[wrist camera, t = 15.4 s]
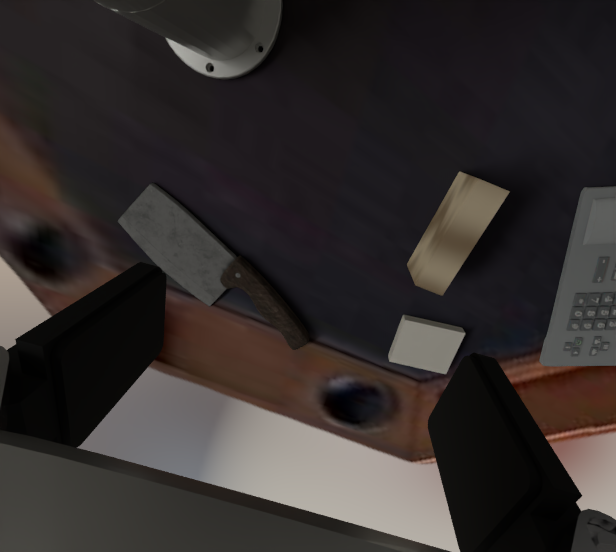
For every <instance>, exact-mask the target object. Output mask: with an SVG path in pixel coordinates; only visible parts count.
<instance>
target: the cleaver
mask: <svg viewBox="0 0 616 552" xmlns="http://www.w3.org/2000/svg"><path fill="white" fill-rule="evenodd" d="M118 222H119V223H120V224H121V226H122V227H123V228H124V229H125V230H126V231H127V233H128V234H129V235H130V236H131V237H132V238H133V239H134V241H135V242H136V243H137V244H138V245H139V246H140V247H141V248H142V249H143V251H144V252H145V253H146V254H147V255H148V256H149V257H150V258H151V259H152V260H153V261H154V262H155V263H156V264H157V265H158V266H159V267H160V268H161V269H162V270H163V271H164V272H165V273H167V274H168V275H169V276H170V277H171V278H172V279H174V280H175V281H176V282H177V283H179V284H180V285H181V286H182V287H184V288H185V289H186V290H188V291H189V292H190V293H192V294H193V295H194V296H196V297H197V298H198V299H200V300H201V301H202V302H204V303H205V304H207V305H208V306H209V307H210V306H211V305H212V304H213V303H214V302H215V301H216V300H217V298H218V297H219V296H220V295H221V294H222V293H223V292H224V291H225V290H226V289H230V288H234V287H239V288H241V289H243V290H244V291H245V292H246V293H247V294H248V295H249V296H250V297H251V299H252V300H253V302H254V304H255V306H256V308H257V310H258V311H259V312H260V314H261V315H262V316H263V317H264V318H265V319H266V320H267V321H269V322H270V323H271V324H273V325H274V326H275V327H276V328H277V329H278V330H279V331H280V332H281V333H282V334H283V336H284V338H285V339H286V341H287V343H288V344H289V346H290V347H291V348H292V349H293V350H295V349H298V348H300V347H302V346H304V345H305V344H307V343H308V342H309V337H310V336H309V333H308V331H307V330H306V328H305V327H304V325H303V324H302V323H301V321H300V320H299V318H298V317H297V316H296V315H295V313H294V312H293V311H292V310H291V308H290V307H289V306H288V305H287V304H286V302H285V301H284V300H283V299H282V298H281V296H280V295H279V294H278V293H277V292H276V291H275V289H274V288H273V287H272V286H271V285H270V284H269V283H268V282H267V281H266V279H265V278H264V277H263V276H262V275H261V274H260V273H259V272H258V271H257V270H256V269H255V268H254V267H253V266H252V265H251V264H250V263H248V262H247V261H246V260H245V259H244V258H243V257H242V256H238V257H237V256H236V255H235V254H234V253H233V252H232V251H231V250H230V249H229V248H227V247H226V246H225V245H224V244H223V243H222V242H221V241H220V240H219V239H218V238H217V237H216V236H215V235H214V234H213V233H212V232H211V231H210V230H208V229H207V228H206V227H205V226H204V225H203V224H202V223H201V222H200V221H199V220H198V219H197V218H196V217H195V216H194V215H193V214H191V213H190V212H189V211H188V210H187V209H186V208H185V207H184V206H182V205H181V204H180V203H179V202H178V201H177V200H175V199H174V198H173V197H171V196H170V195H169V194H168V193H166V192H165V191H164V190H162V189H161V188H160V187H158V186H157V185H156V184H154V183H151V184H150V185H149V186H148V187H147V188H146V189H145V190H144V191H143V193H142V194H141V195H140V196H139V197H138V198H137V199H136V200H135V201H134V203H133V204H132V205H131V206H130V207H129V208H128V209H127V210H126V212H125V213H124V214H123V215H122V216H121V217H120V219H119V220H118Z"/></svg>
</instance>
